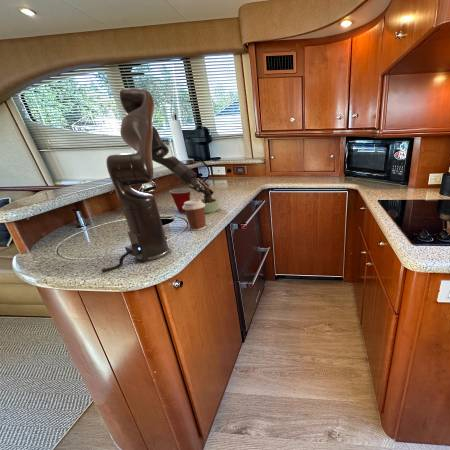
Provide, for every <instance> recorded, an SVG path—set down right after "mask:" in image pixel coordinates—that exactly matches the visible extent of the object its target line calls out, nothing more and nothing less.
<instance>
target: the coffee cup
mask: <svg viewBox="0 0 450 450" xmlns="http://www.w3.org/2000/svg"><path fill="white" fill-rule="evenodd" d="M204 207H205V204H204V203H203V202H202V201H201V199H190V201H186V202H185V203H184V206H183V207H182V209H183V210H185V212H184V213H185V216H186V219H187V223H188V224H189V228H190V230H191V231H193V232H195V231H201V230H204V229H206V228H207V222H206V214H205V212H204Z"/></svg>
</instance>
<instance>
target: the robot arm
mask: <svg viewBox="0 0 450 450" xmlns="http://www.w3.org/2000/svg"><path fill="white" fill-rule="evenodd" d="M118 92H119V93H118V96H119V101H120V104H121V106H122V109H123V111H124V112H125V114H126V115H125V116H124V117H123V118H122V121H121V123H120V124H121V125H120V130H119V131H120V136H121V139H122V141H123V142H124V143H125V144H126V145H127V146H128V147H129V148H131V149H132V150H133V151H135V152H133V153H118V154H110V155H108V156H107V157H106V162H105V163H106V169H107V173H108V175H109V179H110V181H111V183H112V185H113V187H114V188H113V189H114V190H115V193H116V197H117V199H118V201H119V203H120V206H121V208H122V212H123V215H124V218H125V221H126V224H127V227H128V231H127V235H128V238H129V241H130V244H129V245H127V246H124V249H125V251H126V252H125V253H124V254H122V255H121V256H120V258H119V260H118V261H119V262H118V264H116V265H115V266H114V265H113V266H111V267H105V268H102V269H101V272H102V273H104V272H105V273H106V272H108V271H113V270H116V269H119V268H121V267H122V266H123V265H124V259H125V258H126V257H128V255H130V256H133V257H134V258H135V259H136V260H139V261H141V262H144V263H146V262H149V261H154V260H157V259H160V258H162V257H165V256H166V255H168V254H169V253H170V247H169V243H168V237H167V236H166V233H165V229H164V226H163V223H162V222H163V221H162V219H161V218H162V217H161V214H160V211H159V207H158V204H157V200H156V197H155V196H154V195H153V194H150V193H146V192H141V191H138V190H136V189H134V188H132V186H138V185H146V184H150V183H152V181H153V179H154V162H155V163H157V164H159V165H161V166H163V167H165V168H167V169H168V170H169V171H170V172H171V173H173V174H174V175H175V176H176V177H177V178H178V179H180V180H181V181H182V182H184V184H186V185H188V187H189V189H191V190H194V191H195V192H197V193H201V194H203V195H206V196H207V197H209V196H210V195H213V194H214V191H213V190H212V189H211V188H210V185H209V184H208V183H207V182H206V181H205V180H204V179H203V178H201V179H200V178H198V177H197V173H196V172H195V171H194V170H193V169H192V168H190V167H189V166H187V165H186V164H185V163H183V162H182V161H181V160H179V159H178V158H177V157H176V156H174V155H171V156H168V157H166V156H167V155H168V154H169V152H170V148H169V147H168V146H167V145H166V144H165V143H164V141H163V140H162V138H161V136H160V133H159V131H158V130H157V128H156V126H154V125H153V120H154V116H155V111H156V110H155V107H156V103H155V100H154V98H153V95H152V93H151V92H150V91H149V90H147V89H144V88H122V89H119V91H118ZM204 187H209V191H210V193H209V192H208V191H207V190H205V189H204Z"/></svg>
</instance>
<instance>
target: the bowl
mask: <svg viewBox="0 0 450 450" xmlns="http://www.w3.org/2000/svg"><path fill="white" fill-rule="evenodd" d="M200 200H201V201H202V202H203V203H204V204H205V207H204V212H205V215H206V214H211V213H215V212H217V211H218V210H220V206H219V201H218V200H219V199H217V198H213V197H212V201H213V202H211V203H205V200H204V198H202V199H200Z"/></svg>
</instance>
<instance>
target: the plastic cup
mask: <svg viewBox="0 0 450 450" xmlns="http://www.w3.org/2000/svg"><path fill="white" fill-rule="evenodd" d="M191 191H192V188H175V189H170V190H169V191H168V192H169V193H170V195H171V197H172V198H173V202H174V204H175V206H176V208H177V211H178V212H179V213H185V210H183V209H182V207H183V206H184V203H185V202H186V201H190V200H191Z"/></svg>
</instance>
